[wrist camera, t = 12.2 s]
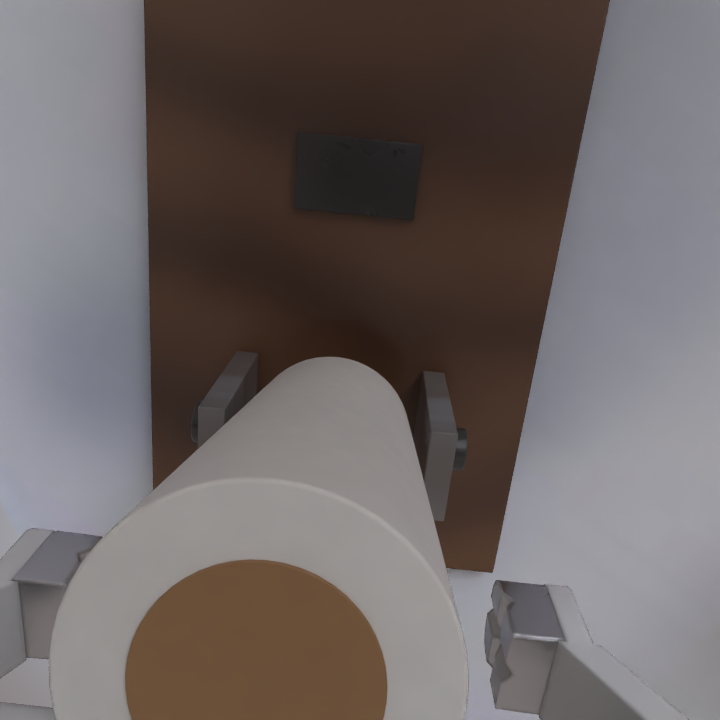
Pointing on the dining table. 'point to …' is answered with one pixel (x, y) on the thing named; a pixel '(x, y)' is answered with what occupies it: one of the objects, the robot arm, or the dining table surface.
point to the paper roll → (273, 574)
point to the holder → (364, 216)
